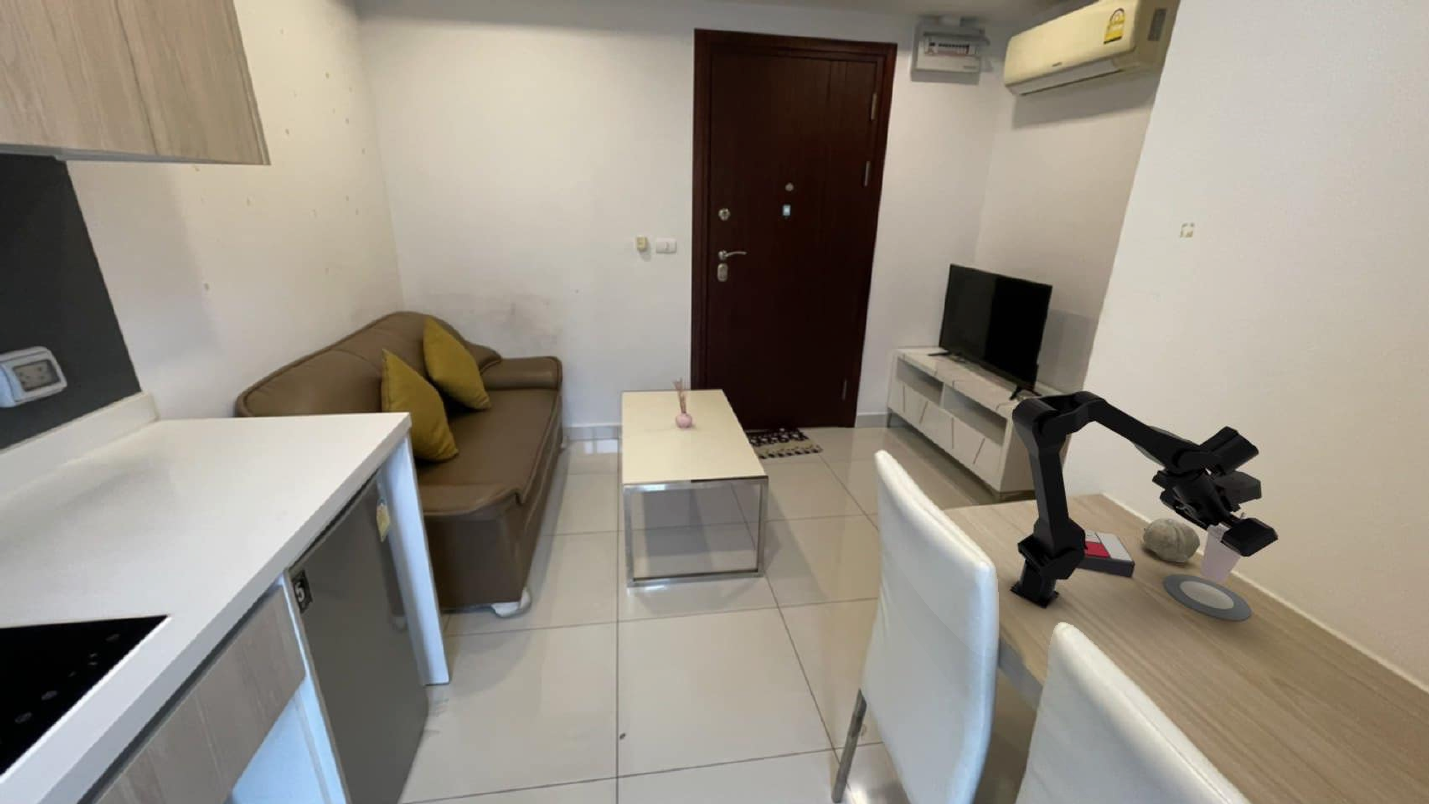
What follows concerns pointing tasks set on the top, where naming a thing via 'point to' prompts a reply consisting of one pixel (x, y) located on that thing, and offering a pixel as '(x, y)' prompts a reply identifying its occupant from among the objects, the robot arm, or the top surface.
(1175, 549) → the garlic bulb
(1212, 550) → the smoothie
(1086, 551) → the calculator
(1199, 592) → the coaster
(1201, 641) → the top surface
